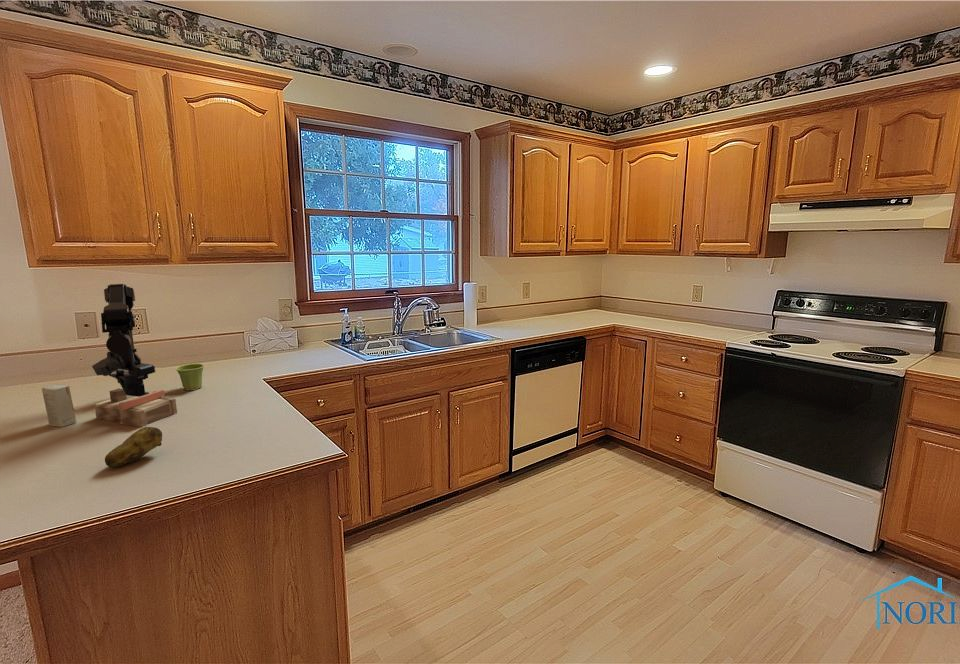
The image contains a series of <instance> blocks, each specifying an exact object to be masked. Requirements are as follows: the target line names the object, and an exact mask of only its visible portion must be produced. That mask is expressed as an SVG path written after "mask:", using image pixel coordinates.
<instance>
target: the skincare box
mask: <svg viewBox="0 0 960 664" xmlns="http://www.w3.org/2000/svg"><path fill="white" fill-rule="evenodd" d="M41 391H42V397H43V401H44V406H45V411H46V416H47V421H48V425H49V426H52V427H60V428H63V427H65V426H69V425H72V424H75V423H77V418H76V413H75V408H74V404H73V399H72V392H71V389H70V385H65V384H64V385H63V384H53V385H48V386H45V387H42V388H41Z"/></svg>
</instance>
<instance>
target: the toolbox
mask: <svg viewBox="0 0 960 664" xmlns="http://www.w3.org/2000/svg"><path fill="white" fill-rule="evenodd" d="M155 391H156V390H154V391H153V392H155ZM157 399H164V400H170V403H169V404H166V405H163V406H161V407H158V408H155V409H152V410H150V411H147V412H144V410H137V409H126V410H121V408H120V409H119V410H118V409H110V408H102V407H96V406H95V407H94V411H95V417H96V420H102V421H108V422H109V421H110V422H115V423H117V422H118V423H120V425H124V426H125V425H127V426H133V427H140V428H144V427H147V425H148V424H152V423H154V422H156V421H159V420H162V419H165V418H167V417H169V416H172V415H176V414H178V409H177V401H176V398H173V397H165V396H163V397H160V398H157ZM121 403H122V402H121ZM119 405H120V403H119Z"/></svg>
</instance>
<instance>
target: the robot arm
mask: <svg viewBox="0 0 960 664" xmlns="http://www.w3.org/2000/svg"><path fill="white" fill-rule="evenodd" d="M103 294H104V301H105V303H107V305H105V306H104V307H103V312H101V313H100V317H101V332H102V333H103V334H104V333H105V334H106V333H108V335H107V336H108V338H107V339H106V344H105V347H106V349H107V350H108V351H107V353H106V357H105V358H103V359H101V360H100V361H98V362H96V363H95V364H92V366H91V367H92V369H93V371H94V373H95V374H96V376H103V377H111V378H113V379H116V381H117V384H119V385H120V386H121V387H120V388H121V389H123V390H124V392H125V393H126V395H128V396H137V397H140V396H143V395H146V394H149V393H150V392H148V391H146V388H145V384H144V380H146V379H148V378H149V375H152V374H154V373H156V367H155V365H154V364H151V363H144V362H142V358H141V357H140V356H139V355H138V354H137V352H138V351H137V350H138V349H137V348H135V342H134V335H133V331H134V328H136V321H135V320H136V319H135V314H134V313H133V311H132V310H133V308H134V306H135V304H134V302H136V295H135V290H134V288H133V287H131V286H127V284H124V283H115V284H114V283H112V284H108V285H107V287H106V288H105V289H103Z"/></svg>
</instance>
